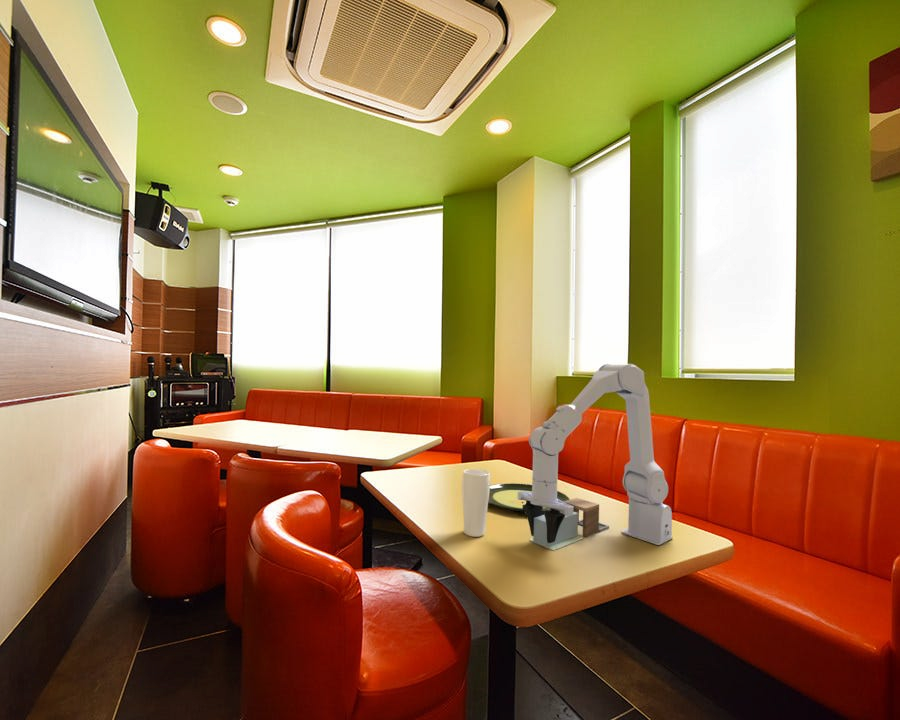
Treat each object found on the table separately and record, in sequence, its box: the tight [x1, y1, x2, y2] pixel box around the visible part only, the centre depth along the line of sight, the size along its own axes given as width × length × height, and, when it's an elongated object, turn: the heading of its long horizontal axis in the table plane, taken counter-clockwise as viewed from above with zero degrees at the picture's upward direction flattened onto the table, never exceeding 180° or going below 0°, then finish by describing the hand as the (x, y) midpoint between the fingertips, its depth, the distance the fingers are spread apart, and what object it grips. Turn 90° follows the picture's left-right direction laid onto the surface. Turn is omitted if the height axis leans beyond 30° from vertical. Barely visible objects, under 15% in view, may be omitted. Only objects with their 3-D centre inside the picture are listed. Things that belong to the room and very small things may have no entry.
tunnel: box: [564, 497, 600, 538], centre depth 106 cm, size 7×6×7 cm
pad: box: [528, 535, 585, 552], centre depth 100 cm, size 7×12×1 cm, turn 130°
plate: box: [488, 482, 571, 513], centre depth 129 cm, size 28×28×2 cm
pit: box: [578, 519, 610, 533], centre depth 110 cm, size 7×4×1 cm, turn 40°
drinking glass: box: [461, 468, 491, 538], centre depth 102 cm, size 7×7×15 cm
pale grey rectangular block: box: [532, 512, 579, 548], centre depth 100 cm, size 4×12×6 cm, turn 130°
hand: (543, 538), depth 96 cm, fingers closed on pale grey rectangular block, 4 cm apart
